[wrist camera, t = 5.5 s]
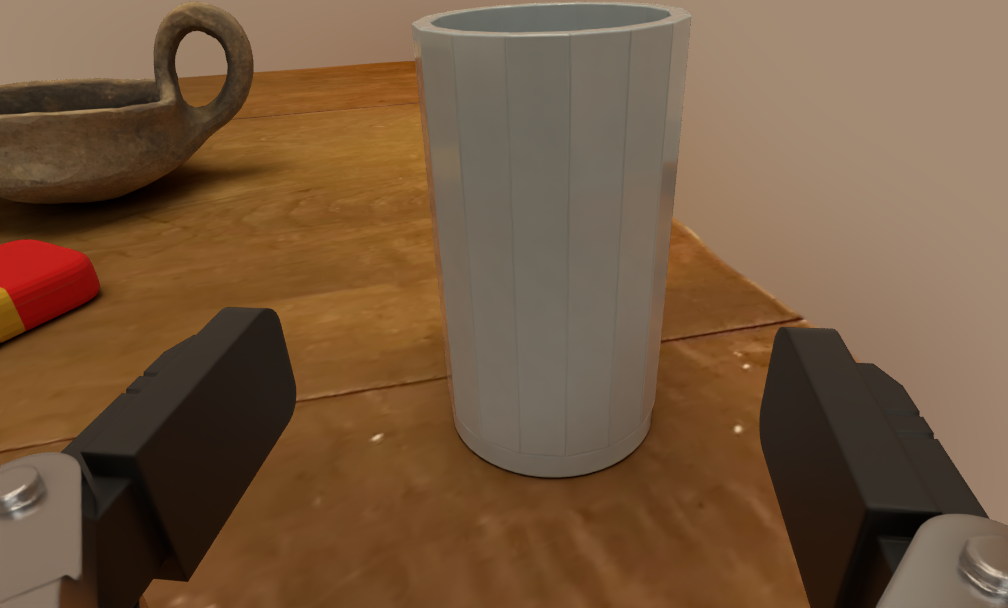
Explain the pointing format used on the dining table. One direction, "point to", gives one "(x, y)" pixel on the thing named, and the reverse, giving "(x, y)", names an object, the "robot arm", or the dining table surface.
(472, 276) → the tumbler
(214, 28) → the bowl
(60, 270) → the popsicle
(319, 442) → the dining table surface
